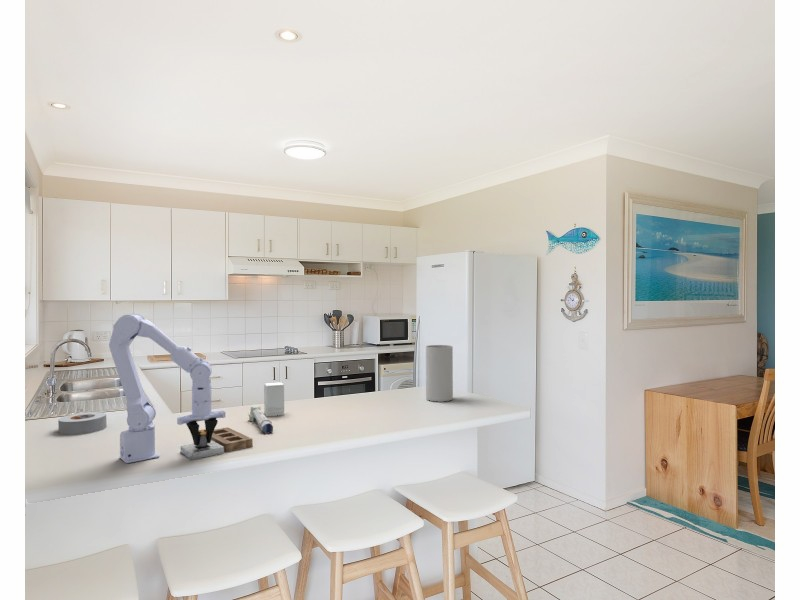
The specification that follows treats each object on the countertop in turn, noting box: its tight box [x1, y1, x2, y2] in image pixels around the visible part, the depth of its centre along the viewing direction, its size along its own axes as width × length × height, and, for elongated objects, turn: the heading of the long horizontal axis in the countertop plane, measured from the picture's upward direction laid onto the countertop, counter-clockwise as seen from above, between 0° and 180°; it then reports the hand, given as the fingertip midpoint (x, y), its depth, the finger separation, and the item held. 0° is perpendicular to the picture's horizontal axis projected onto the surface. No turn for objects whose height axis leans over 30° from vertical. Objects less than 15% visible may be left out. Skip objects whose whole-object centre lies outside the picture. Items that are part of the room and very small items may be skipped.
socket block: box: [180, 440, 225, 461], centre depth 167 cm, size 10×10×2 cm
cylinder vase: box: [425, 344, 454, 403], centre depth 248 cm, size 12×12×25 cm
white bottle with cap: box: [247, 404, 274, 434], centre depth 201 cm, size 5×7×25 cm
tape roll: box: [57, 411, 108, 436], centre depth 197 cm, size 15×15×5 cm
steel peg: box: [197, 428, 208, 449], centre depth 167 cm, size 3×3×7 cm
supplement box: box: [263, 381, 285, 417], centre depth 220 cm, size 7×7×13 cm
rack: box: [211, 426, 254, 453], centre depth 178 cm, size 9×20×2 cm, turn 41°
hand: (202, 443), depth 167 cm, fingers closed on steel peg, 3 cm apart
